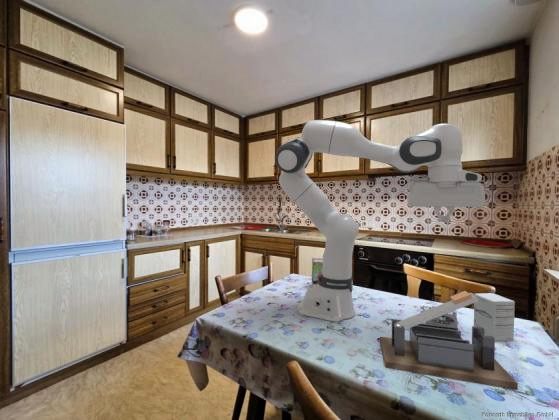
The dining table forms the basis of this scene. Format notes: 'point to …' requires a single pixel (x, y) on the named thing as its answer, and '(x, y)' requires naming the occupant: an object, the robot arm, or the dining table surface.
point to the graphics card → (443, 319)
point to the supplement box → (495, 316)
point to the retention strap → (439, 310)
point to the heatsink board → (444, 372)
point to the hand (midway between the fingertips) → (443, 221)
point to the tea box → (316, 269)
